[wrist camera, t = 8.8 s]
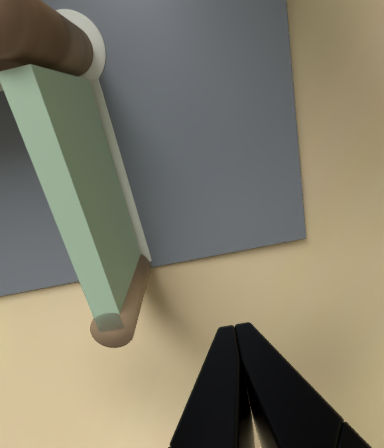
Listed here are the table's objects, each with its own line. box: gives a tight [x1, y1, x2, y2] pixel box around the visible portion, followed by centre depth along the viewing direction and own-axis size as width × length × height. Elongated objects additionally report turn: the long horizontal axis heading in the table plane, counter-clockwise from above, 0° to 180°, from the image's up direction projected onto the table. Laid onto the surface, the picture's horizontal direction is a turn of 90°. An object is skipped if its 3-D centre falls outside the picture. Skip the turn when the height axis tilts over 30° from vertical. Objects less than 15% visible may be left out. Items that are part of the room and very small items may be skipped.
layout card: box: [0, 0, 306, 296], centre depth 17 cm, size 20×28×1 cm
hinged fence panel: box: [0, 64, 151, 348], centre depth 15 cm, size 2×12×6 cm, turn 12°
